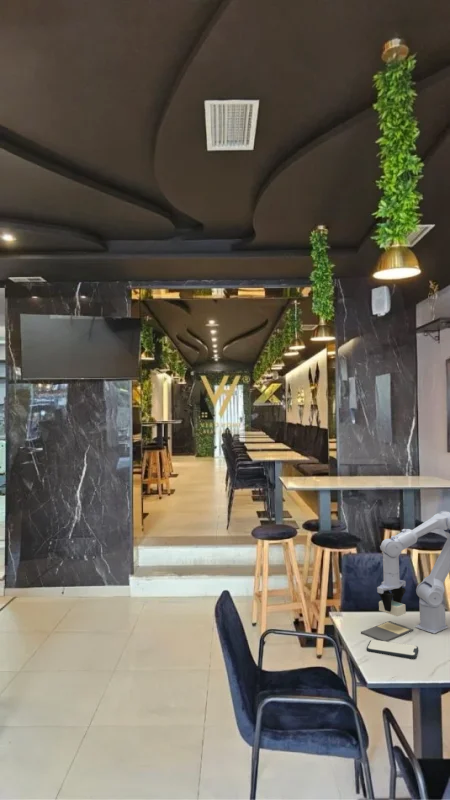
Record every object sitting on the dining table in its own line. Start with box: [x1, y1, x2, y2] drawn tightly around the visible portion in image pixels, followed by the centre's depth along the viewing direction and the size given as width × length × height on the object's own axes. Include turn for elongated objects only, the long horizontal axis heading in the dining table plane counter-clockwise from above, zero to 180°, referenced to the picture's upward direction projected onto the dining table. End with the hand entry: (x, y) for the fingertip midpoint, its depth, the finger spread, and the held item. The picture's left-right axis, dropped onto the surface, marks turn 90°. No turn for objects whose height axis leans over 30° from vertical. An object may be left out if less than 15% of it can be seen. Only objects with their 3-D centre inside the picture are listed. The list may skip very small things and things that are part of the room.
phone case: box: [365, 639, 419, 660], centre depth 176 cm, size 9×2×16 cm
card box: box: [378, 600, 407, 617], centre depth 194 cm, size 8×5×3 cm, turn 37°
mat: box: [360, 620, 414, 642], centre depth 191 cm, size 17×10×1 cm, turn 126°
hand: (392, 609), depth 193 cm, fingers closed on card box, 5 cm apart
